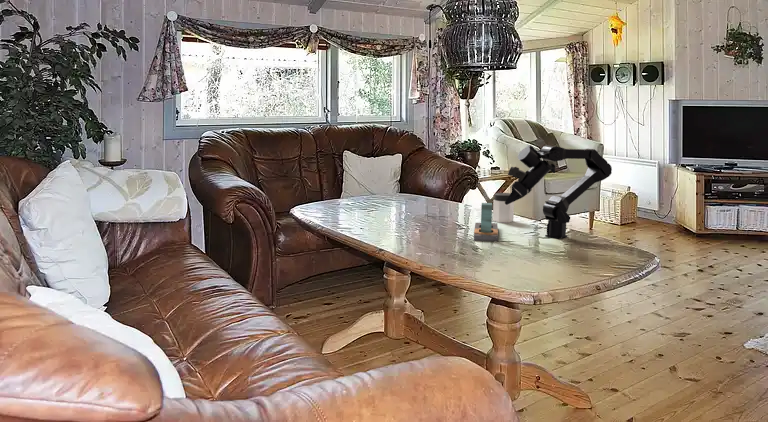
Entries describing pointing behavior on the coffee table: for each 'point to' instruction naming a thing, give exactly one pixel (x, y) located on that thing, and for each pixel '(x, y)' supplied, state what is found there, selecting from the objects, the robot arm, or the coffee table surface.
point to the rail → (486, 233)
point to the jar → (502, 208)
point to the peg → (486, 217)
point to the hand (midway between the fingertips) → (507, 202)
